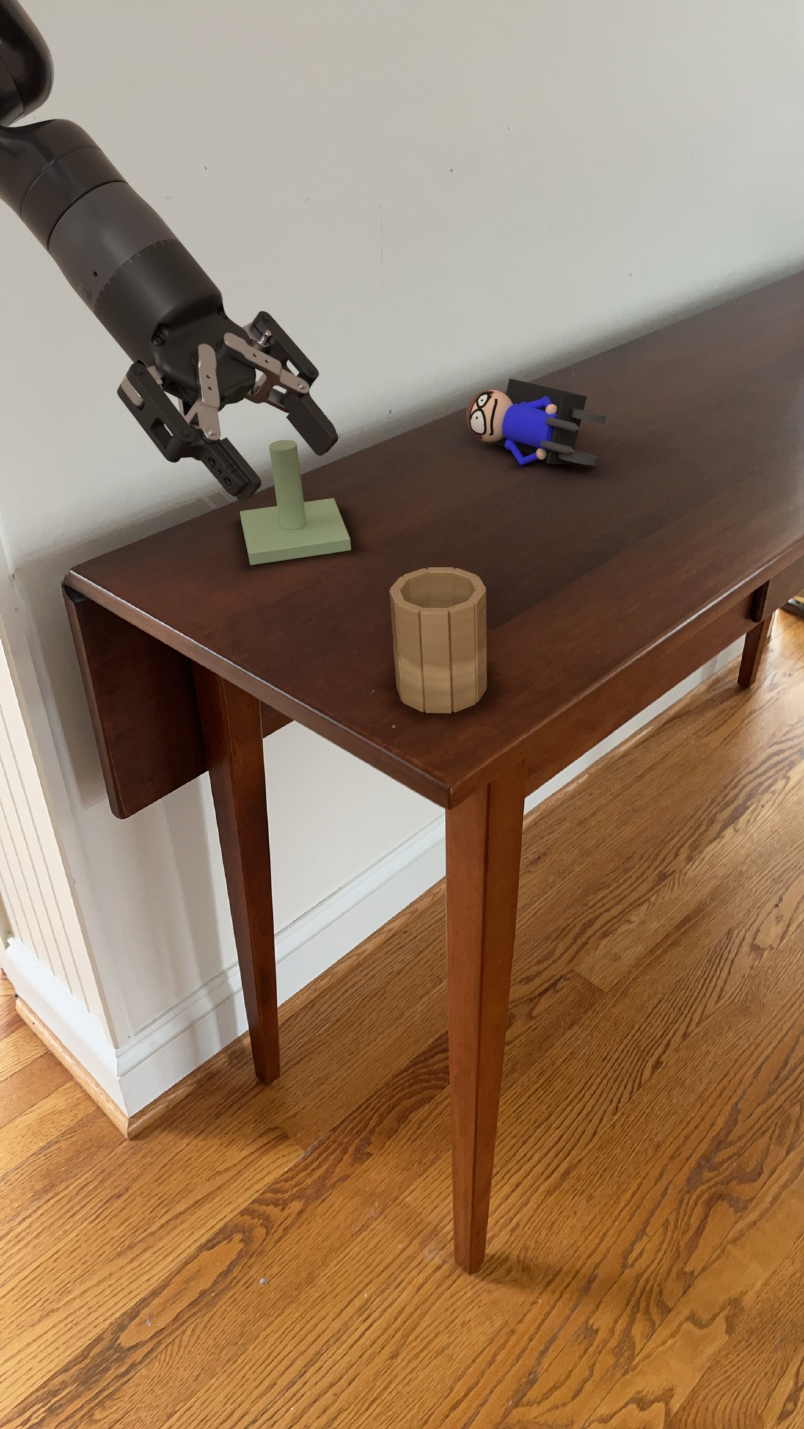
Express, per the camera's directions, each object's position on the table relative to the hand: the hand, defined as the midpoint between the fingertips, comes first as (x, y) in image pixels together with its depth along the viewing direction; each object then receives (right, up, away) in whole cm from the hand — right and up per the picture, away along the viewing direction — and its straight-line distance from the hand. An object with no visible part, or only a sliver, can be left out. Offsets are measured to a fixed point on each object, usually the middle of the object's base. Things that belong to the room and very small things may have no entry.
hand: (293, 469), depth 69 cm
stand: (-2, 0, +24) cm, 24 cm away
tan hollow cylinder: (+10, -15, +3) cm, 18 cm away
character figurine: (+21, +9, +35) cm, 42 cm away
